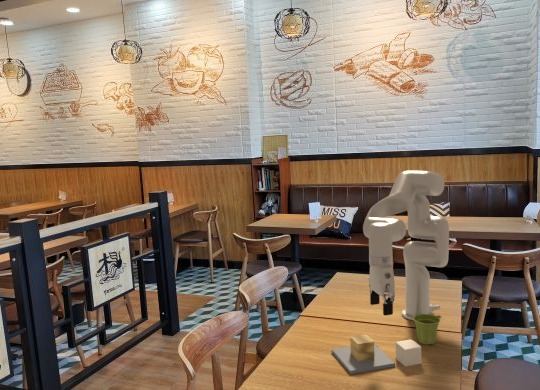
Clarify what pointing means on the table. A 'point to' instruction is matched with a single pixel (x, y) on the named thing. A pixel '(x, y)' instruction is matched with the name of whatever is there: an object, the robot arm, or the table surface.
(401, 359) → the cream block
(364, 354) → the mustard block
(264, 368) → the table surface
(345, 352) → the plate
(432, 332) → the plant pot
